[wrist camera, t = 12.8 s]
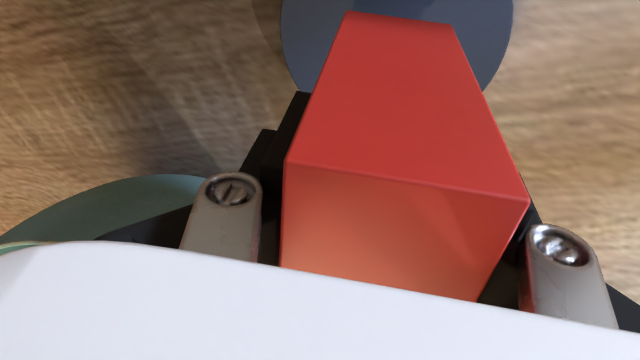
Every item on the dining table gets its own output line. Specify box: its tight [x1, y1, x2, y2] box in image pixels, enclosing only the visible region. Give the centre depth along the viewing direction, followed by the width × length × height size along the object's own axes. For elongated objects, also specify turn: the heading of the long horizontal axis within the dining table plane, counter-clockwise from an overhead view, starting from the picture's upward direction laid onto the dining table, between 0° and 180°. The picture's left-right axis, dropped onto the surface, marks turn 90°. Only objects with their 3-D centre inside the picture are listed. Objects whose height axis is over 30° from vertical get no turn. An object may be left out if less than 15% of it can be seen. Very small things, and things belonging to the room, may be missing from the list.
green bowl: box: [0, 174, 206, 255], centre depth 27 cm, size 18×18×12 cm
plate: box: [280, 0, 513, 93], centre depth 21 cm, size 12×12×1 cm
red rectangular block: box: [279, 10, 531, 303], centre depth 12 cm, size 5×4×10 cm
